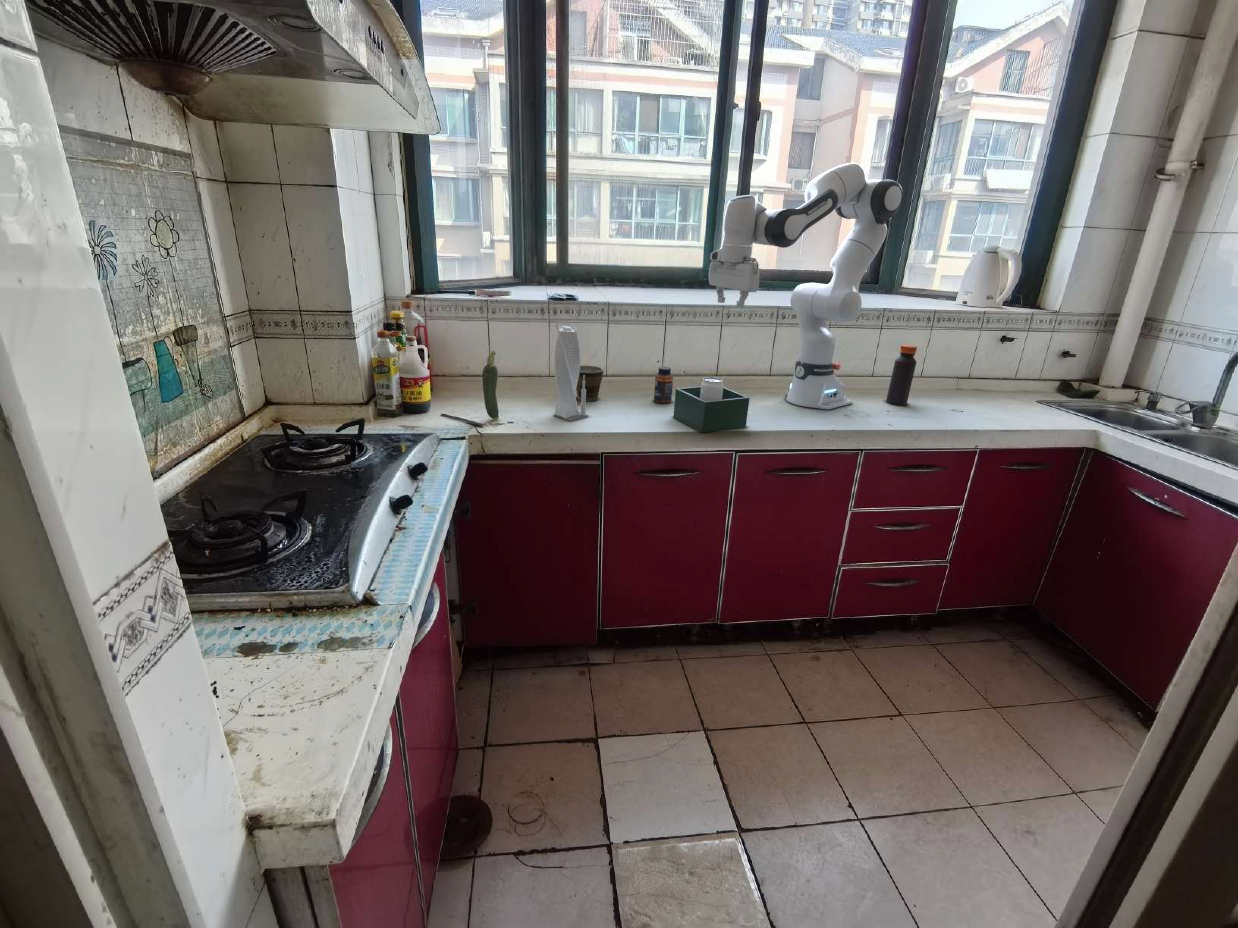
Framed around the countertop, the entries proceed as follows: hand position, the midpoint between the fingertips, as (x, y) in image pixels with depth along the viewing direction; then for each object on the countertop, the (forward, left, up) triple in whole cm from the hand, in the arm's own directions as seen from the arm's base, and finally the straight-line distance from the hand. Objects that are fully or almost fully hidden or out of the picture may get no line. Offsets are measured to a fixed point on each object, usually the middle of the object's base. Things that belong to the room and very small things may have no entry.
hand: (730, 304), depth 177 cm
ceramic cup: (+36, -25, -33) cm, 55 cm away
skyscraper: (+48, -10, -33) cm, 59 cm away
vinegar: (-67, +13, -33) cm, 76 cm away
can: (+10, +9, -32) cm, 35 cm away
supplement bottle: (+12, -15, -33) cm, 38 cm away
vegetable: (+70, -14, -33) cm, 79 cm away
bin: (+10, +9, -33) cm, 36 cm away
